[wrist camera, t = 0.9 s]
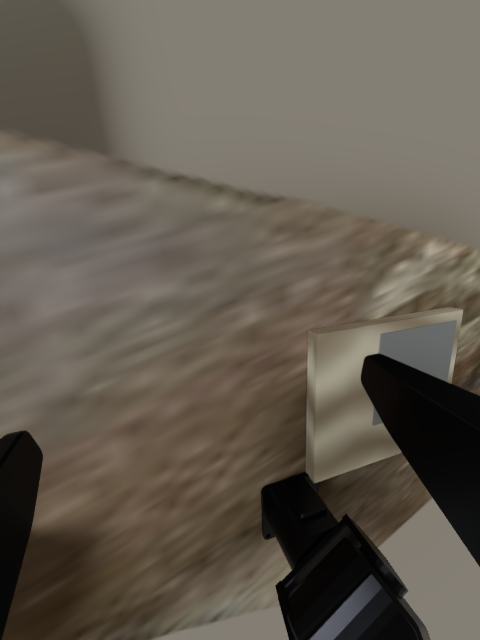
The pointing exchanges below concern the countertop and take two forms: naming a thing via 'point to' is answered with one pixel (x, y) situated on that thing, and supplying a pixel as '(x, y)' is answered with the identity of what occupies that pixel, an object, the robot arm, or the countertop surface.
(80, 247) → the countertop surface
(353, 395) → the board
